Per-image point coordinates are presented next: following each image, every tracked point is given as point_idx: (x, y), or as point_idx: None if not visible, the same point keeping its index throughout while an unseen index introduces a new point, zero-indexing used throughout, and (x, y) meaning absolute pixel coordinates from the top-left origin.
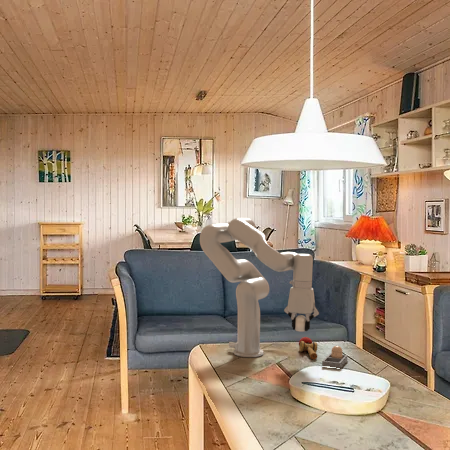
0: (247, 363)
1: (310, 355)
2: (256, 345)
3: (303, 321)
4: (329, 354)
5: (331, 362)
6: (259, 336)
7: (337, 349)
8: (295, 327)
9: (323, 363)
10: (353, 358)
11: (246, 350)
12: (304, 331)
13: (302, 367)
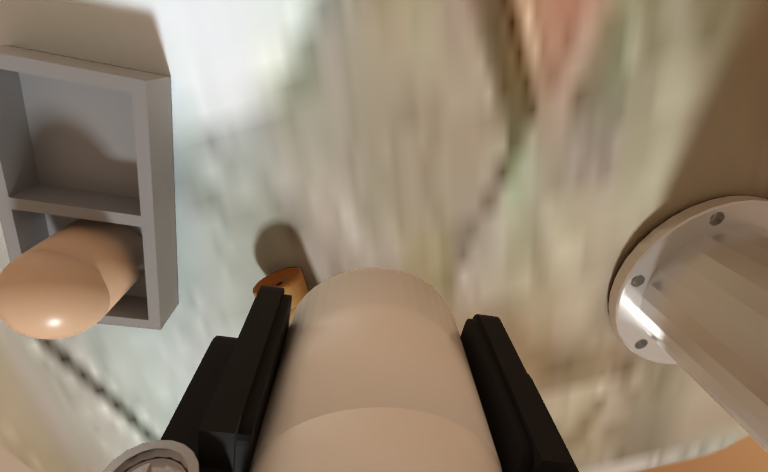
0: (757, 38)
1: (299, 278)
2: (714, 285)
3: (296, 428)
4: (156, 297)
5: (53, 63)
6: (737, 364)
7: (18, 270)
8: (461, 344)
9: (143, 77)
10: (46, 357)
11: (765, 235)
12: (303, 297)
13: (324, 32)
